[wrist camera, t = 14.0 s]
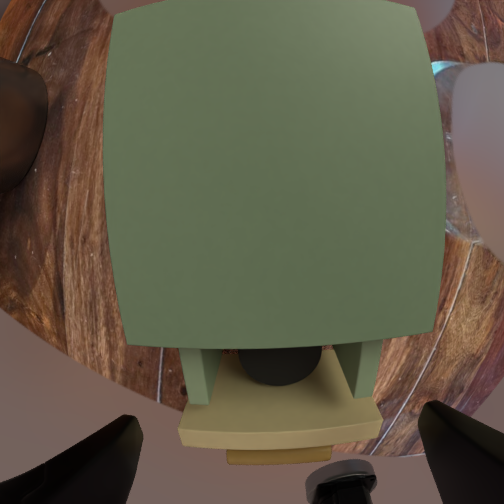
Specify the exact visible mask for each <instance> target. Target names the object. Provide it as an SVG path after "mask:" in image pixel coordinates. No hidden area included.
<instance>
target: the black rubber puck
mask: <svg viewBox="0 0 504 504" xmlns="http://www.w3.org/2000/svg"><path fill="white" fill-rule="evenodd" d="M321 354H322V346H309V347H292V348H268V349H238V355H239V360H240V363H241V365H242V367H243V369H244V370H245V372H246V373H247V374H248V375H249V376H250V377H252V378H253V379H255V380H256V381H258V382H260V383H263V384H267V385H272V386H285V385H290V384H294V383H297V382H299V381H301V380H303V379H304V378H306V377H307V376H309V375H310V374H311V373H312V372H313V371H314V369H315V368H316V367H317V365H318V363H319V361H320V358H321Z"/></svg>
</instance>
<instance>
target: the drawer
mask: <svg viewBox="0 0 504 504" xmlns="http://www.w3.org/2000/svg"><path fill="white" fill-rule="evenodd" d="M382 343H383V339H382V340H374V341H365V342H356V343H346V344H335V345H332V346H333V349H334V350H322V354H321V358H320V361H319V363H318V365H317V367H316V368H315V369H314V371H313V372H312V373H311V374H310V375H309V376H307V377H306V378H304V379H303V380H301V381H299V382H297V383H294V384H290V385H285V386H272V385H267V384H263V383H260V382H258V381H256V380H255V379H253V378H252V377H250V376H249V375H248V374H247V373H246V372H245V370H244V369H243V367H242V365H241V363H240V360H239V355H238V354H222V352H223V349H191V348H178V349H179V354H180V360H181V365H182V370H183V375H184V380H185V385H186V390H187V395H188V400H187V403H186V406H185V409H184V412H183V414H182V417H181V420H180V423H179V426H178V432H179V436H180V439H181V442H182V445H183V446H188V447H199V448H211V449H227V463H228V464H229V465H279V464H298V463H309V462H319V461H328V460H330V459H331V453H332V448H331V445H336V444H343V443H350V442H356V441H362V440H367V439H372V438H377V437H378V434H379V431H380V428H381V425H382V422H383V419H382V416H381V414H380V412H379V410H378V408H377V406H376V403H375V401H374V399H373V397H372V394H373V390H374V385H375V381H376V376H377V371H378V365H379V360H380V354H381V349H382Z"/></svg>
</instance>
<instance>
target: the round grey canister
mask: <svg viewBox="0 0 504 504" xmlns="http://www.w3.org/2000/svg"><path fill="white" fill-rule="evenodd" d="M47 110H48V102H47V89H46V85H45V83H44V80H43V78H42V77H41V75H40V74H39V73H38V72H36V71H35V70H33V69H30V68H28V67H25V66H23V65H20V64H18V63H15V62H13V61H10V60H7V59H5V58H2V57H0V194H3V193H6V192H8V191H10V190H12V189H13V188H14V187H15V186H16V185H18V184H19V182H20V181H21V180H22V179H23V178H24V176H25V175H26V173H27V172H28V170H29V169H30V167H31V165H32V163H33V161H34V159H35V157H36V154H37V152H38V149H39V146H40V144H41V141H42V137H43V133H44V129H45V124H46V119H47Z"/></svg>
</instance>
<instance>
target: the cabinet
mask: <svg viewBox="0 0 504 504" xmlns="http://www.w3.org/2000/svg"><path fill="white" fill-rule="evenodd" d="M103 177H104V196H105V210H106V221H107V231H108V240H109V249H110V256H111V263H112V270H113V277H114V283H115V289H116V294H117V300H118V305H119V310H120V315H121V320H122V324H123V329H124V333H125V337H126V342H127V344H128V345H137V346H150V347H167V348H191V349H268V348H292V347H309V346H323V345H335V344H346V343H356V342H365V341H374V340H382V339H389V338H396V337H403V336H410V335H416V334H422V333H428V332H432V331H433V326H434V321H435V316H436V310H437V304H438V298H439V291H440V284H441V276H442V267H443V257H444V244H445V227H446V171H445V153H444V141H443V131H442V123H441V115H440V108H439V102H438V96H437V90H436V85H435V79H434V75H433V70H432V65H431V61H430V57H429V53H428V49H427V45H426V42H425V38H424V35H423V31H422V28H421V25H420V22H419V18H418V15H417V13H416V10H415V8H413V7H409V6H406V5H402V4H398V3H394V2H390V1H386V0H166V1H162V2H158V3H154V4H150V5H146V6H142V7H139V8H135V9H132V10H128V11H125V12H122V13H119V14H116V15H114V20H113V26H112V32H111V39H110V45H109V53H108V61H107V70H106V81H105V94H104V113H103Z"/></svg>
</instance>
